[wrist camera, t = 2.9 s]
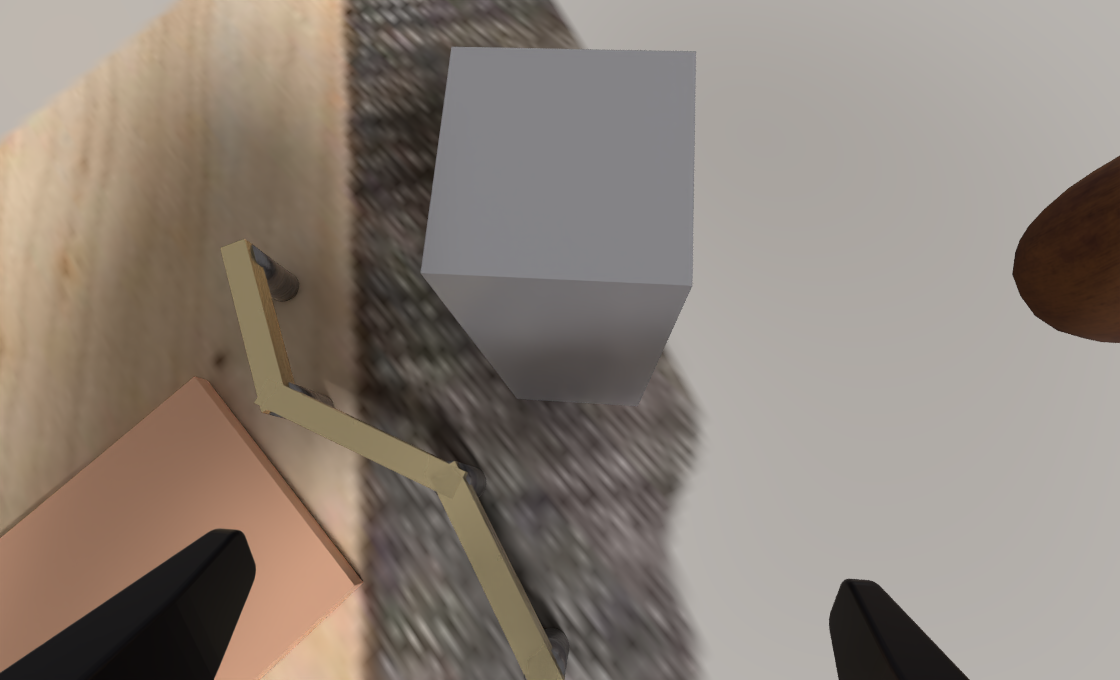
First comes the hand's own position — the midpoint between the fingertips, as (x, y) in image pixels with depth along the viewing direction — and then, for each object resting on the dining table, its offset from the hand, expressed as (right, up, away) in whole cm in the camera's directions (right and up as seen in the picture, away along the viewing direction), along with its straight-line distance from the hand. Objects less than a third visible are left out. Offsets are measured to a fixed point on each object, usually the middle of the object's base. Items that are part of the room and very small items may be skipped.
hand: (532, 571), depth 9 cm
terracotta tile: (-14, -5, +13) cm, 19 cm away
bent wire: (-5, -1, +13) cm, 14 cm away
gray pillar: (+1, +3, +14) cm, 14 cm away
